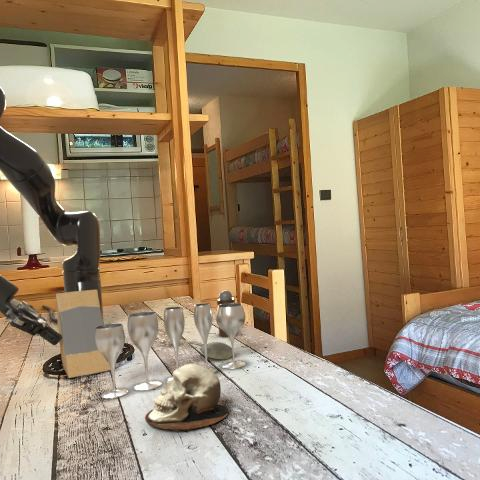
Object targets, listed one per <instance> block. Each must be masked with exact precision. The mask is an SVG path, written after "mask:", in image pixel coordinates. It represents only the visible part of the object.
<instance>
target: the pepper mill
mask: <svg viewBox="0 0 480 480" xmlns="http://www.w3.org/2000/svg"><path fill="white" fill-rule="evenodd" d="M228 303H236V298H235V297H233V294H232V292H231V291H229V290H226V289H225V290H222V291H220V293H219V294H218V299H216V308H217V309H218V306H219V305H222V304H228ZM217 309H216V310H217ZM218 335H219V337H222V338H227V337H228V335H227V334H226V333H225V332H224V331H223V330H222V329H220V328H219V327H218ZM228 338H229V337H228Z"/></svg>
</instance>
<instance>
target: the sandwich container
mask: <svg viewBox="0 0 480 480" xmlns="http://www.w3.org/2000/svg"><path fill="white" fill-rule="evenodd" d="M55 302H56V304H55V305H56V316H57V318H56V319H58V323H57V330H58V331H57V332H58V333H59V334H61V335H62V339H61V340H60V341H59V348H60V357H61V364H62V368H63V370H64V372H65V374H66V375H67V377H68V379H71V378H76V377H83V376H89V375H94V374H99V373H102V372H108V371H111V369H110V366H109V363H108V361H107V360H106V359H105V358H104V357H103V356H102V354H101V353H100V352H99V350H98V348H97V345H96V341H95V331H96V327H98V326H101V325H105V323H104V324H103V319H102V314H101V309H100V304H99V298H98V291H97V290H86V291H75V292H67V293H65V292H60V293H59V292H58V293H56V294H55Z"/></svg>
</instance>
